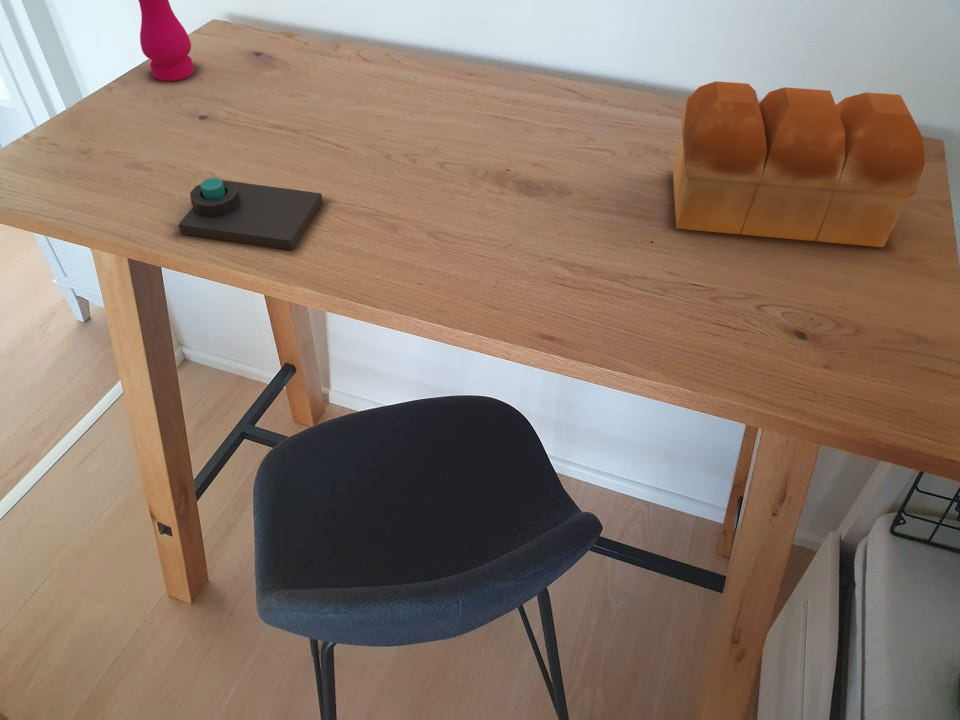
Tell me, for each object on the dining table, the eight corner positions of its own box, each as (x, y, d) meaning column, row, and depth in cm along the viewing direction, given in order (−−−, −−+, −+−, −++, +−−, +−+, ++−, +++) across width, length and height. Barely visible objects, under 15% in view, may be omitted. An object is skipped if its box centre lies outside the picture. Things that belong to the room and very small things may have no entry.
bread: (673, 229, 92) (699, 115, 82) (669, 174, 101) (693, 64, 90) (888, 249, 90) (943, 134, 79) (865, 190, 99) (913, 80, 88)
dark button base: (179, 233, 91) (172, 212, 89) (217, 188, 98) (211, 167, 95) (292, 250, 89) (288, 229, 86) (323, 202, 96) (319, 181, 93)
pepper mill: (174, 58, 124) (136, -79, 110) (207, 69, 121) (172, -70, 107) (139, 75, 119) (95, -65, 105) (173, 87, 117) (132, -56, 103)
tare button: (199, 199, 91) (196, 188, 90) (209, 187, 93) (206, 176, 92) (219, 202, 91) (216, 191, 90) (229, 190, 93) (226, 179, 91)
